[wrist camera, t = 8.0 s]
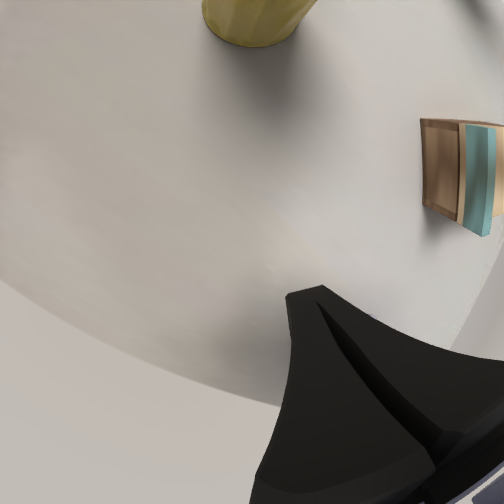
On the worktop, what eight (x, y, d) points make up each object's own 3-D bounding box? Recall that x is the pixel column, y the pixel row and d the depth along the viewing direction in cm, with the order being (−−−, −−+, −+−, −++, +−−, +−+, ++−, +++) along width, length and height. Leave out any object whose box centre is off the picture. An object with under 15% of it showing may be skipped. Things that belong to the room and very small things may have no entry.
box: (483, 192, 21) (512, 205, 17) (422, 204, 20) (454, 221, 17) (484, 121, 18) (516, 128, 14) (420, 118, 17) (456, 122, 14)
